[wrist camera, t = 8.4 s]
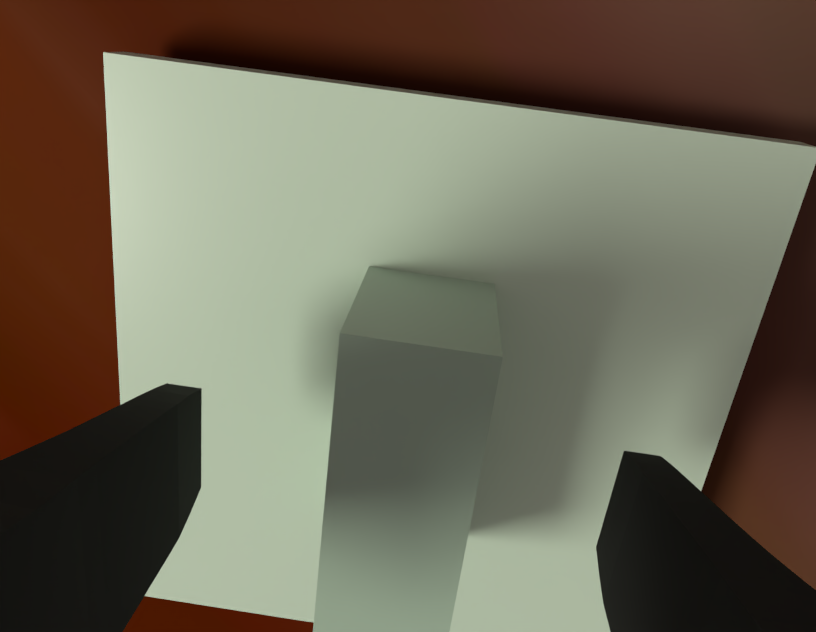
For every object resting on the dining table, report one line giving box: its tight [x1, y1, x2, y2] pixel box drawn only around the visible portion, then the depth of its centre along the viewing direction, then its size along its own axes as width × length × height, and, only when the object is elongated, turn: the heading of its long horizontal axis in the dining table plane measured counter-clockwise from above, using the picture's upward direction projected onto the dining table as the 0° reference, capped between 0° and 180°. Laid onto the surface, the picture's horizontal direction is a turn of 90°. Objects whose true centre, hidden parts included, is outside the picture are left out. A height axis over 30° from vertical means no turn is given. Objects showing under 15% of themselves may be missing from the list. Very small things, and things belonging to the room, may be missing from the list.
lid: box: [103, 52, 816, 632], centre depth 13 cm, size 12×12×5 cm
